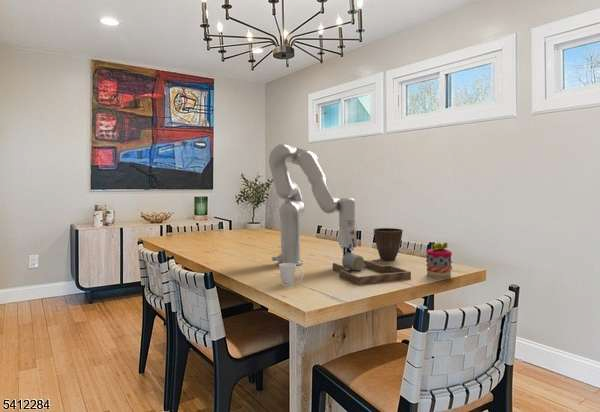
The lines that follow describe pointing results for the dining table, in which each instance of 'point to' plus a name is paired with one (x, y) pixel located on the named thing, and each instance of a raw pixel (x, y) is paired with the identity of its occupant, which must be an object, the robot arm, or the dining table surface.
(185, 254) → the dining table surface
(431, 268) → the cake
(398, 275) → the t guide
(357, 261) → the ceramic mug
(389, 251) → the plant pot
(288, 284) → the cup
